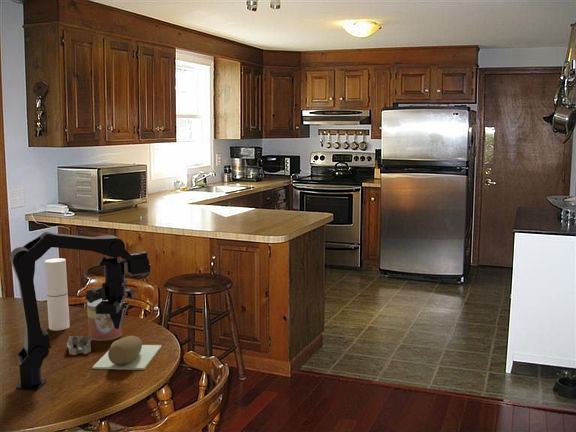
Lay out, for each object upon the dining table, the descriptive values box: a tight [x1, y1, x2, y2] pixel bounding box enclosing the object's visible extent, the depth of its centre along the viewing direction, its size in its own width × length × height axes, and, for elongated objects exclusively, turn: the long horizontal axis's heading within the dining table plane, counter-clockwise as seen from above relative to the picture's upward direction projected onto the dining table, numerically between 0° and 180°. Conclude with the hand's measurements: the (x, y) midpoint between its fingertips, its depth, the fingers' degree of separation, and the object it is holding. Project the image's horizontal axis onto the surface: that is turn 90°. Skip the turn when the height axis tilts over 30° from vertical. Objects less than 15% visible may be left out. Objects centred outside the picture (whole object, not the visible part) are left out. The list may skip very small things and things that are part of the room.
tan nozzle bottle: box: [107, 335, 143, 365], centre depth 204 cm, size 8×8×18 cm
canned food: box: [86, 299, 123, 342], centre depth 228 cm, size 11×11×12 cm
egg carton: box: [66, 335, 93, 356], centre depth 215 cm, size 11×8×4 cm
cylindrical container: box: [44, 257, 71, 331], centre depth 236 cm, size 7×7×25 cm
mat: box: [92, 344, 162, 371], centre depth 207 cm, size 20×16×1 cm
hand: (117, 328), depth 196 cm, fingers closed
